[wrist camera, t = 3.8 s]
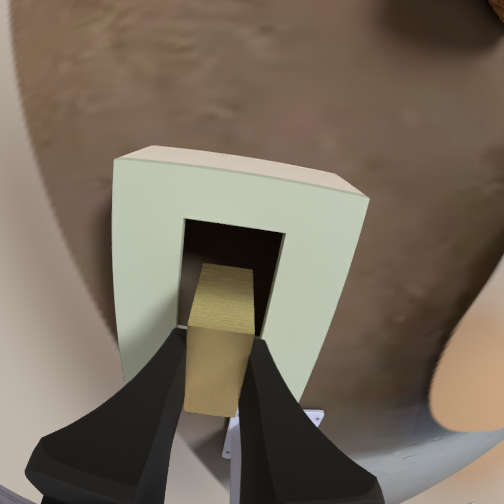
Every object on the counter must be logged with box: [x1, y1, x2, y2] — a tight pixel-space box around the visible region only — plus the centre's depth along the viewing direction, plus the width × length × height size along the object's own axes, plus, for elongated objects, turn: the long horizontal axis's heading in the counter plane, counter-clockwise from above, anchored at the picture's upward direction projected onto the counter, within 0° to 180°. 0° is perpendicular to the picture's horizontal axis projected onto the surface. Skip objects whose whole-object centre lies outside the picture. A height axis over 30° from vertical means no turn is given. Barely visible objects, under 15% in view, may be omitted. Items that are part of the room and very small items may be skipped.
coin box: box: [112, 146, 370, 402], centre depth 16 cm, size 12×10×5 cm
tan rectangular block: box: [184, 263, 255, 418], centre depth 12 cm, size 4×2×4 cm, turn 171°
